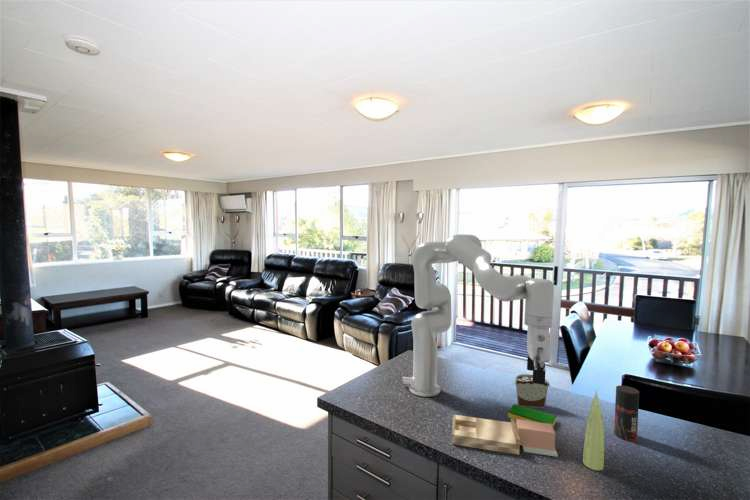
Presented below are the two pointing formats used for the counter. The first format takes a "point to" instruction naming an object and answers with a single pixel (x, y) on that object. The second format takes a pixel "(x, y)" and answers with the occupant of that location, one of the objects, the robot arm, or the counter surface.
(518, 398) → the food container
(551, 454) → the mat
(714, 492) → the counter surface
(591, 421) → the tube
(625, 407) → the deodorant
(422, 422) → the counter surface
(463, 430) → the open box
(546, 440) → the block
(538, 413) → the dish sponge
